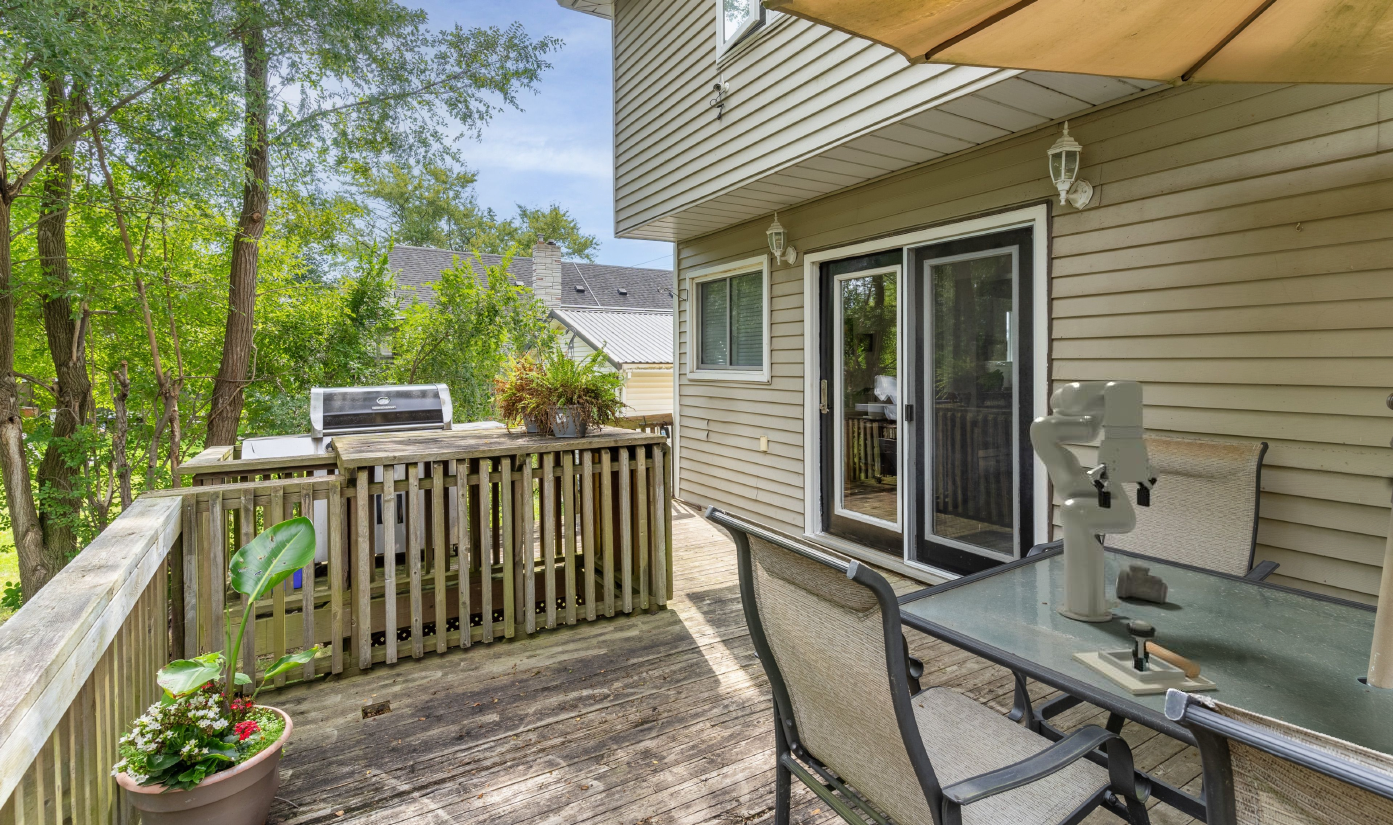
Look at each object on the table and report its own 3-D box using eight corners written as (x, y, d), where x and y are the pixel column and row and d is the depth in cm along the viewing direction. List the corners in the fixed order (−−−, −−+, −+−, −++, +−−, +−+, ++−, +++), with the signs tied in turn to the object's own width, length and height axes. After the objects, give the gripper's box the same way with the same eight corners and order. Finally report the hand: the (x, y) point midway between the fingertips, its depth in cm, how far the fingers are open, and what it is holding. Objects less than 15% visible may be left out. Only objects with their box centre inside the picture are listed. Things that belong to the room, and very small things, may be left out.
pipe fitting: (1112, 597, 186) (1117, 562, 186) (1117, 593, 192) (1122, 559, 192) (1163, 610, 178) (1168, 574, 178) (1166, 605, 184) (1171, 570, 184)
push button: (1125, 659, 142) (1124, 614, 142) (1154, 664, 139) (1154, 618, 139) (1126, 670, 137) (1125, 624, 136) (1156, 675, 134) (1156, 628, 134)
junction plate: (1146, 653, 148) (1146, 636, 147) (1216, 688, 130) (1215, 669, 130) (1072, 657, 146) (1072, 640, 146) (1132, 694, 128) (1132, 674, 128)
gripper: (1145, 432, 155) (1145, 502, 155) (1077, 434, 153) (1078, 505, 154) (1171, 434, 147) (1171, 508, 148) (1100, 436, 146) (1100, 511, 146)
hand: (1124, 506), depth 151 cm, fingers open, 9 cm apart
